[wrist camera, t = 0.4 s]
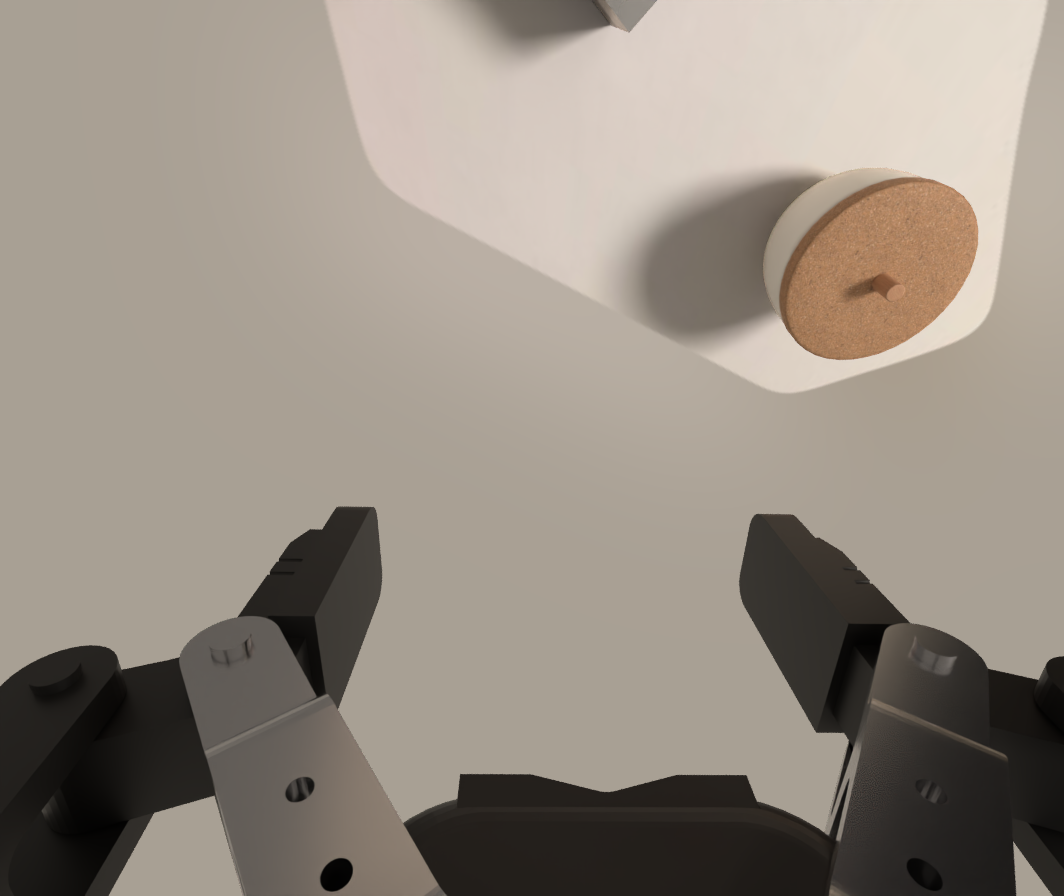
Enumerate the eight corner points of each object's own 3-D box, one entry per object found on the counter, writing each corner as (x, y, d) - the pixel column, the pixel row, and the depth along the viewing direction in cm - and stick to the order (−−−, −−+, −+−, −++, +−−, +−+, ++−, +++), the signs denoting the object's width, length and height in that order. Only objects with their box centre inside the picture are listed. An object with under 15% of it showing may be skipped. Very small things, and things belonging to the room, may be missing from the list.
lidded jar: (870, 105, 34) (975, 141, 27) (921, 240, 39) (1019, 300, 32) (711, 226, 38) (765, 285, 31) (778, 333, 43) (837, 404, 36)
